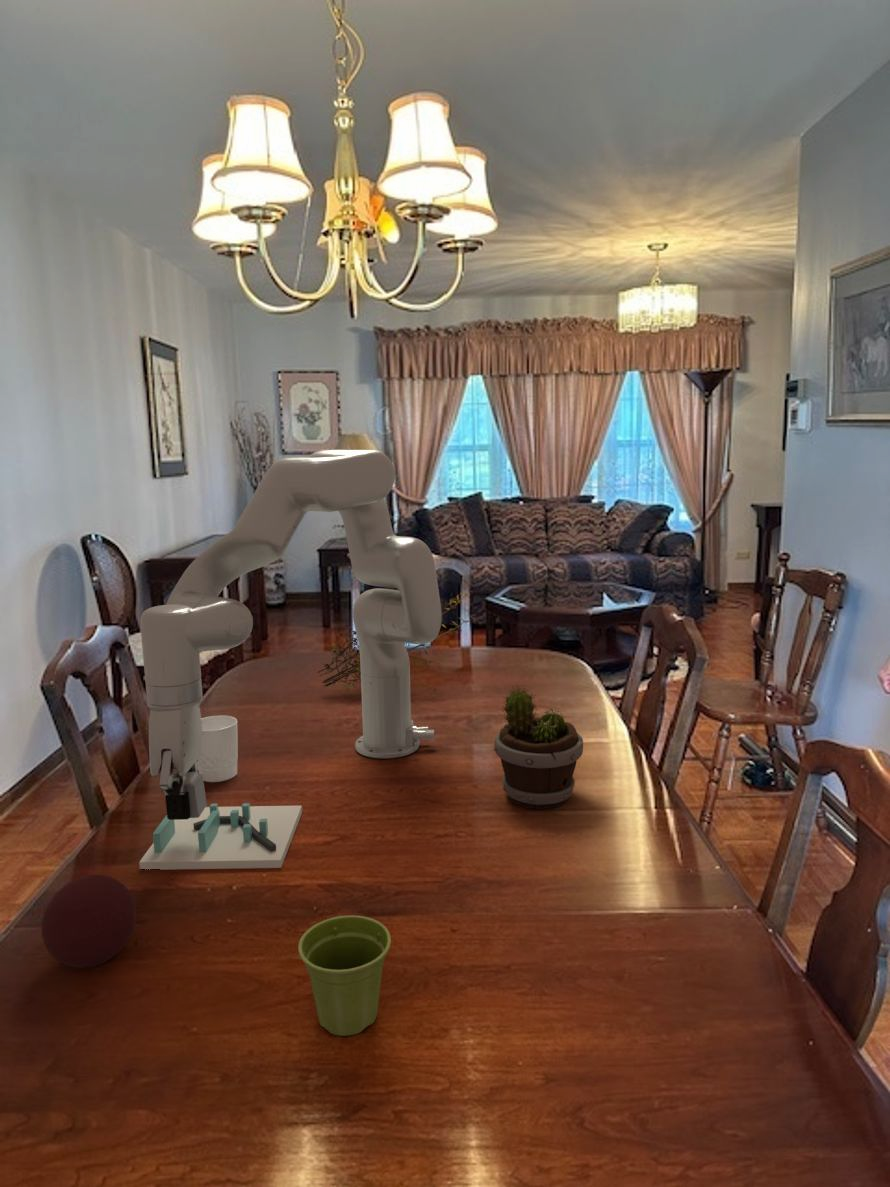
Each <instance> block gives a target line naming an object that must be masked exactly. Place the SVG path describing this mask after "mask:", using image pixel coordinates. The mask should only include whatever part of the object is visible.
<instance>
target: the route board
mask: <svg viewBox="0 0 890 1187" xmlns="http://www.w3.org/2000/svg"><path fill="white" fill-rule="evenodd" d="M232 810H238V812H239V816H241V817H243V816H242V805H241V806H218V811H219V814H220V816H230V813H231V811H232ZM250 814H251V818H250V820H247V821H248V822H249V823H250V824H251V825H252V826H253V827H254V828H255V829H256V830H257V831H258V832H260V829H259V821H260V819H267V824H268V835H267V837H266V838H268V839H269V840H270V841H272V842H273V843H275V844H276V851H273V852H270V851H269V850H268V849H266V848H265V847H264V846H263V845H261V844H260V843H259V842H257V841H256V840H255V839H253V838H252V840H251V842H244V839H243V827H242V826H241V825H240V824H239V826H238V827H237V828H231V824H220V826H219V828H218V833H217V835H216V836H215V838H214V840H213V842H212V843H211V845H210V847H209V849H208V850H207V852H199V841H198V832H199V831H200V830H197V831H196V830H195V829H194V824H193V823H196V822H199V821H202V820H205V819H207V818H208V816H209V815H210V806H206V807H205V809H204V810H203V812H202V813H201V815H200V816H199V818H189V819H183V820H174V823H175V834H174V835H173V837H172V838H171V840H170V841H169V843H168V844H167V846H166V847H165V848H164V850H163V851H162V853H154V842H153V843H152V844H151V845H150V847H149V848H148V850H147V851H146V852H145V854H143V856H142V858H141V859H140V861H139V862H138V864H139V870H140V869H145V870H144V871H148V869H149V871H151V870H150V869H160V870H161V871H162V870H164V871H165V870H172V871H173V870H220V869H221V870H225V869H226V870H228V869H230V870H232V869H236V870H237V869H279V868H280V869H282V866H283V864H284V862H285V858H286V855H287V854H288V851H289V848H290V845H291V843H292V841H293V838H294V835H295V833H296V830H297V827H298V825H299V821H300V819H301V817H302V814H303V805H258V806H257V805H254V806H253V805H250ZM146 869H147V870H146Z"/></svg>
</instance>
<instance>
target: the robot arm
mask: <svg viewBox="0 0 890 1187" xmlns="http://www.w3.org/2000/svg"><path fill="white" fill-rule="evenodd" d="M395 472H396V471H395V467H394V464H393V462H392V460H391V459H390V458H389V456H388V455H386V454H385V453H384V452H382V451H380V450H376V449H323V450H318V451H315V452H313V453H311V454H310V455H308V456H306V457H285V458H281V459H279V460H277V461H275V462H274V463H272V465H271V466H270V467H269V468H268V469H267V471H266V473H265V474H264V476H263V477H262V480H261V481H260V483H259V484H258V486H257V488H256V489H255V491H254V493H253V495H252V496H251V498H250V500H249V502H248V503H247V505H246V506H245V509H244V510H243V512H242V513H241V515H240V516H239V519H238V520H237V522H236V524H235V525H234V527H233V528H232V529H231V530H230V531H229V532H227V533H226V534H225V535H223V536H222V537H220V539H218V540H217V541H215V542H214V543H213V544H212V545H211V546H209V547H208V548H207V549H206V550H204V551H203V552H202V553H201V554H200V555H198V556H197V557H196V558H195V559H194V560H193V561H192V562H191V563H190V564H189V565H188V567H187V568H186V569H185V570H184V571H183V573H182V575H181V576H180V578H179V579H178V581H177V583H176V585H175V586H174V587H173V590H172V591H171V594H170V595H169V597H168V599H167V602H166V604H162V605H156V606H152V607H149V608H147V609H145V610H144V611H143V612H142V613H141V615H140V618H139V621H140V635H141V646H142V657H143V669H144V680H145V681H144V682H145V691H146V692H145V693H146V702H147V707H148V708H150V709H149V716H148V717H149V720H148V752H149V753H148V755H149V771H150V775H151V776H152V777H157V776H159V774H160V777H159V778H160V779H159V787H160V788H161V789H163V794H164V796H165V808H166V815H167V818H168V819H169V820H183V819H189V818H190V816H191V815H190V802H189V792H186V773H187V772H198V774H199V769H198V758H199V757H200V755H201V753H202V751H203V731H202V721H201V719H202V714H201V707H200V703H201V702H202V701H203V699H204V696H203V686H202V685H203V684H202V672H201V670H202V668H201V658H200V654H201V653H202V652H211V651H220V650H221V651H222V650H228V649H234V648H235V647H239V645H241V644H243V643H244V642H245V641H246V640H247V639H248V638H249V636H250V635H251V632H252V631H253V625H254V619H253V615H252V613H251V611H250V609H249V608H248V607H247V606H246V605H245V604H244V603H243V602H241V601H238V600H236V599H233V598H229V597H222V596H219V595H220V594H221V592H222V591H223V590H225V588H226V587H227V586H229V584H231V583H232V582H233V581H235V580H236V579H238V578H240V577H241V576H244V575H246V574H247V573H250V572H252V571H255V570H257V569H260V568H261V569H262V568H263V567H265V566H268V565H269V564H272V563H274V562H276V561H278V560H279V559H280V558H281V557H282V556H283V555H284V554H285V551H286V549H287V548H288V546H289V545H290V542H291V540H292V539H293V536H295V533H296V531H297V530H298V528H299V525H300V524H301V522H302V520H303V518H304V517H305V516H306V514H307V513H308V512H324V513H325V512H327V513H332V512H338V513H339V514H340V516H341V519H342V523H343V526H344V533H345V537H346V542H347V548H348V552H349V559H350V563H351V567H352V568H351V569H352V572H353V574H354V577H355V578H356V580H357V581H359V582H360V583H363V584H365V585H369V586H374V587H381V588H372V589H368V590H364V591H363V592H362V593H361V594H360V595H359V596H358V597H357V599H356V600H355V602H354V605H353V609H352V619H353V624H354V628H355V630H354V631H356V634H357V635H356V638H357V640H358V641H357V644H358V645H359V648H358V650H359V651H360V657H359V658H360V661H359V662H360V665H359V666H360V667H361V669H360V670H361V675H360V677H361V681H360V686H361V687H360V689H361V716H362V720H361V721H362V735H361V736H360V737H359V738H357V739H356V741H355V746H354V747H355V751H356V752H357V753H359V754H360V755H361V756H365V757H368V758H372V759H395V758H401V757H405V756H408V755H411V754H413V753H414V752H416V751H417V750H418V749H419V747H420V740H426V741H428V740H429V741H433V740H435V730H434V729H429V726H420V727H419V726H418V727H417V725H414V719H412V714H411V713H412V711H411V710H412V708H411V707H412V706H411V704H412V703H411V702H412V701H411V700H412V699H411V673H410V672H411V666H410V665H411V664H410V655H409V653H408V652H409V651H408V650H407V649H408V648H407V646H405V645H406V643H407V644H408V643H409V645H410V644H412V645H420V644H431V642H432V641H433V642H434V640H435V639H437V638H438V637H437V636H439V633H440V630H441V628H442V616H443V614H442V613H443V612H442V610H441V609H442V604H441V600H440V599H441V598H440V590H439V585H438V584H439V582H438V576H437V569H436V564H435V559H434V556H433V552H432V551H431V549H430V547H429V545H428V544H426V543H425V541H422V540H421V539H419V538H417V537H413V536H399V535H396V534H395V533H394V531H393V526H392V522H391V517H390V513H389V509H388V505H387V502H386V500H385V497H387V496H388V494H390V492H391V490H392V489H393V486H394V483H395V477H396V476H395V475H396V473H395ZM388 587H389V588H390V589H388ZM436 637H437V638H436ZM403 642H404V643H405V644H404V643H403ZM407 651H408V652H407ZM174 770H177V771H174ZM173 778H179V783H180V784H179V783H178V782H177V781H174V780H173Z"/></svg>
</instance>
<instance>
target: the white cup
mask: <svg viewBox="0 0 890 1187" xmlns="http://www.w3.org/2000/svg"><path fill="white" fill-rule="evenodd" d="M201 721H202V731H203V751H202V753H201V755H200V757H199V758H198V769H199V774H203V781H204V782H207V783H219V782H226V781H228V780H231V779H233V778H234V777H235V776H237V775H238V759H239V755H238V753H239V745H238V744H239V743H238V742H239V739H238V738H239V737H238V735H239V734H238V733H239V732H238V719H237V718H236V717H234V716H231V715H220V714H219V715H211V716H206V717H201Z"/></svg>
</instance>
